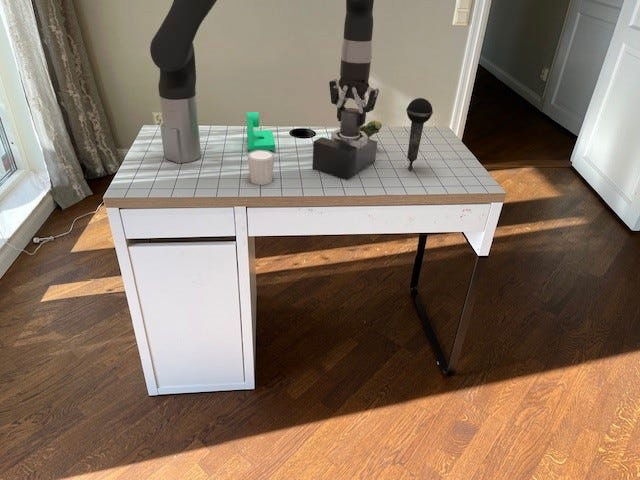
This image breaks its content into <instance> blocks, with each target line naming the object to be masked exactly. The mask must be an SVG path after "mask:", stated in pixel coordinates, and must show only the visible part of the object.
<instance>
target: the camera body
mask: <svg viewBox="0 0 640 480" xmlns="http://www.w3.org/2000/svg"><path fill="white" fill-rule="evenodd" d="M339 133H340V128H339V129H336V130H334V131H332V132H331V136H330V139H329V138H328V137H327V138H326V137H323V136H320V137H319V138H317V139H315V140H313V145H312V146H313V147H312V148H313V149H312V150H313V151H312V170H314V171H318V172H320V173H324V174H325V175H326V174H327V175H329V176H333V177H336V178H339V179H342V180H346V181H348V180H349V179H351V178H352V177H354V176H355V175H357V174H358V173H360V172H361V171H363V170H364V169H366V168H368V167H369V166H370V165H372V164H373V163H375V162H376V159H377V150H378V149H377V148H378V143H379V142H378V141H377V140H373V139H370V138H369V139H368V136H367V135H366V134H365V132H363V131H360V138H359V139H356V140H347V139H343V138H341V137H340V136H339Z"/></svg>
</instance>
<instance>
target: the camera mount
mask: <svg viewBox="0 0 640 480" xmlns="http://www.w3.org/2000/svg"><path fill="white" fill-rule="evenodd" d="M259 113H260V112H259V111H246V135H247V136H246V138H247V147H248V151H249V152H251V151H255V150H267V151H274V150H276V141H275V138H274V133H273V130H270V129H269V130H266V129H265V130H264V129H263V130H254V129H255V128H260V115H259Z"/></svg>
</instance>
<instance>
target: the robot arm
mask: <svg viewBox="0 0 640 480" xmlns="http://www.w3.org/2000/svg"><path fill="white" fill-rule="evenodd" d="M217 1H218V0H173V1H172V4H171V7H170V9H169V11H168V12H167V13H166V16H165V18H164V19H163V21H162V23H161V24H160V27H159V28H158V30H157V31H156V33H155V34H154V37H153V38H152V40H151V41H150V47H149V50H150V53H149V54H150V57H151V59H152V62H153V64H154V65H155V66H156V67H157V68H158V69H159V81H158V86H157V88H158V96H159V102H160V110H161V111H160V112H161V117H162V124H160V125H159V126H160V127H159V128H160V134H161V135H160V136H161V142H162V143H161V144H162V149H163V157H164V159H165V160H168V161H170V162H171V161H172V162H174V163H177V164H178V165H179V164H183V163H191V162H194V161H197V160H198V159H200V158H201V157H202V149H201V148H202V147H201V139H200V137H201V136H200V125H199V114H198V104H197V102H198V101H197V92H196V86H197V85H196V84H197V70H196V57H195V56H196V55H195V47H194V43H193V42H194V40H195V37H196V35H197V32H198V31H199V29H200V26H201V24H202V23H203V21H204V19H206V17H207V15H208V14H209V13H210V11H211V10H212V8H214V6H215V4H216V3H217ZM374 1H375V0H345V2H346V3H345V5H346V6H345V9H346V10H345V17H344V18H345V19H344V26H343V38H342V39H343V40H342V46H341V54H340V70H339V71H340V72H339V75H340V77H339V80H338V79H333V80H330V81H329V82H328V84H329V92H330V102H331V104H333V105H335V106H336V109H337V110H336V113H337V114H336V119H337V120H338V122H340V123H341V111H342V109H344V108H346V106H345V105H346V104H347V101H348V100H349V99H351V100H354V102H355V105H356V106H357V109H359V113H358V121H357V126H359V127H361V126H364V125H365V123H366V118H367V114H368V113H370V112H372V111H374V109H375V105H376V102H377V99H378V96H379V93H380V90H379V88H377V87H376V88H373V87H372V86H370V83H369V79H370V72H371V60H372V53H373V52H372V51H373V42H372V41H373V34H374V33H373V32H374V31H373V30H374V16H373V10H374ZM339 88H340V89H341V93H340V89H339ZM366 94H367V96H368V98H367V97H366Z"/></svg>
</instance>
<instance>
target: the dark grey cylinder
mask: <svg viewBox="0 0 640 480" xmlns="http://www.w3.org/2000/svg"><path fill="white" fill-rule="evenodd" d="M358 113H359V109H358V108H355V107H345V108H344V109H342V111H341V122H340V126H339V129H340V133H339V136H340V137H341V138H343V139H347V140H356V139H359V138H360V127H359V126H357V121H358Z"/></svg>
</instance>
